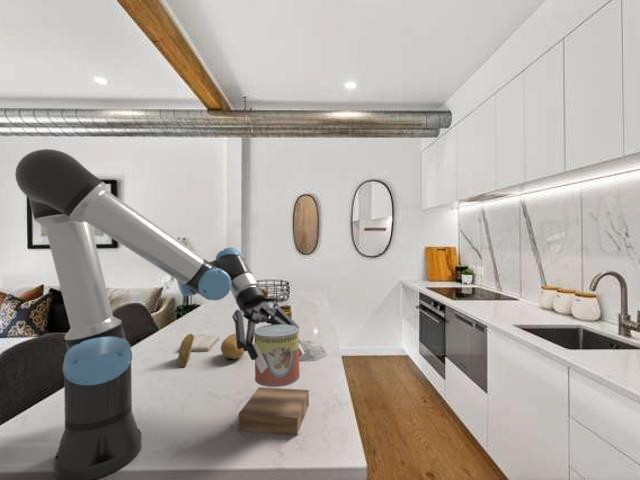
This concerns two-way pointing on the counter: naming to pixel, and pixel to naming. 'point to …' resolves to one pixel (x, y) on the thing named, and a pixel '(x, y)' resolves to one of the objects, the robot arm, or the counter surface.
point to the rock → (185, 350)
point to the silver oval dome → (312, 351)
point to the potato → (231, 348)
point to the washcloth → (204, 342)
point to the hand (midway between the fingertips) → (283, 362)
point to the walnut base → (274, 411)
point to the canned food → (278, 354)
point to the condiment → (287, 310)
